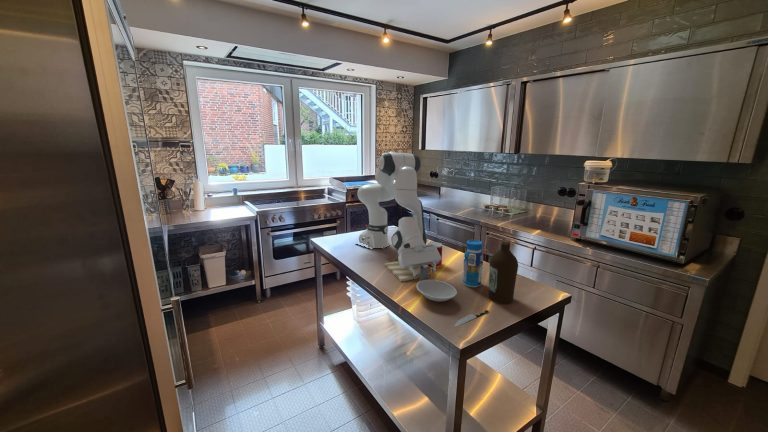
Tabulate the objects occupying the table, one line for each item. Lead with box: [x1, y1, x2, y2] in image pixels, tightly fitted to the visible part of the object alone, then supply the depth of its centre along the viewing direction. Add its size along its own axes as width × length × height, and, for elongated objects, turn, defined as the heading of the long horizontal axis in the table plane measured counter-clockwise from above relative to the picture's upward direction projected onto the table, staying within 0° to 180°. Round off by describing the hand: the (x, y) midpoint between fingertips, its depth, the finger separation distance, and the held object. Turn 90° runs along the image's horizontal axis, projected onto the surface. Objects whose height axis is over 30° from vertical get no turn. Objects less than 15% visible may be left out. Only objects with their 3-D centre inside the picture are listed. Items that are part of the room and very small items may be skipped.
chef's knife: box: [454, 309, 490, 327], centre depth 110 cm, size 19×1×3 cm
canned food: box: [426, 241, 443, 268], centre depth 158 cm, size 8×8×11 cm
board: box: [384, 260, 421, 282], centre depth 150 cm, size 20×15×2 cm
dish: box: [415, 279, 458, 303], centre depth 122 cm, size 18×14×5 cm
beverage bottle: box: [462, 239, 484, 288], centre depth 134 cm, size 8×8×20 cm
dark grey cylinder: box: [419, 265, 430, 281], centre depth 135 cm, size 4×4×9 cm
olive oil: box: [488, 239, 519, 305], centre depth 120 cm, size 11×11×25 cm
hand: (425, 273), depth 134 cm, fingers open, 8 cm apart
